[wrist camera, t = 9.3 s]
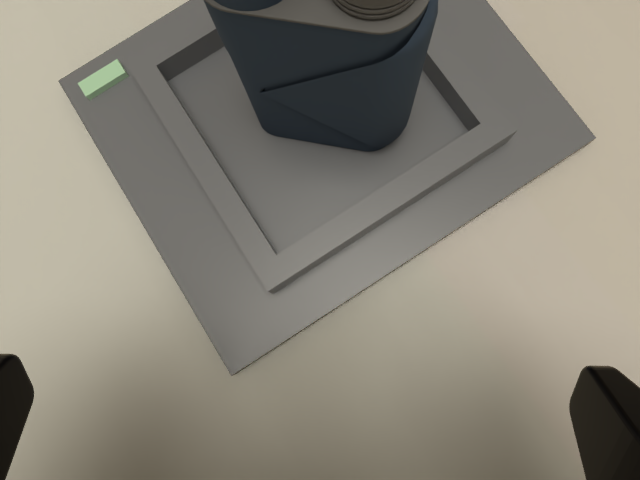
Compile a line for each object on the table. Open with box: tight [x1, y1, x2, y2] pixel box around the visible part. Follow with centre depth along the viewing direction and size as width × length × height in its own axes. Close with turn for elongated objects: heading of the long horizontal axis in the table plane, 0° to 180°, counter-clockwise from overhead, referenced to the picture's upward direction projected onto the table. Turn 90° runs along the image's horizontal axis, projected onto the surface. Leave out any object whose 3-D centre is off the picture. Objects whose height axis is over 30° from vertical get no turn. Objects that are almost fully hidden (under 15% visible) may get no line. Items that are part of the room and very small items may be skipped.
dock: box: [59, 0, 596, 376], centre depth 17 cm, size 14×12×2 cm
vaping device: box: [204, 0, 438, 152], centre depth 12 cm, size 3×5×12 cm, turn 78°
